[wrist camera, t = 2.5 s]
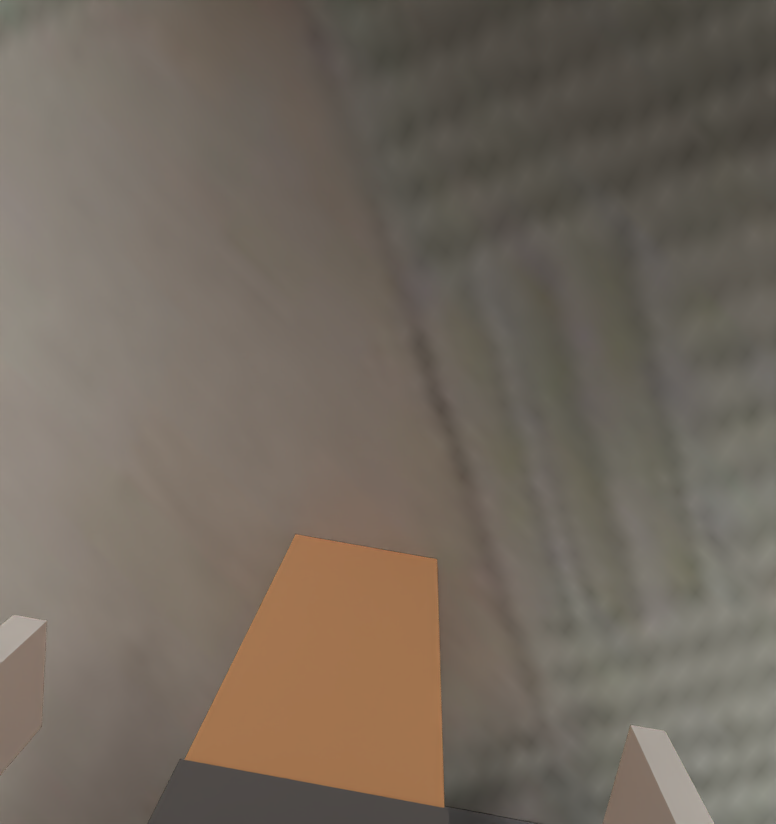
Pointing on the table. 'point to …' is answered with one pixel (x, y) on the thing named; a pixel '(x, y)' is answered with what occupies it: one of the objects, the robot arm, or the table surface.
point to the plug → (326, 701)
